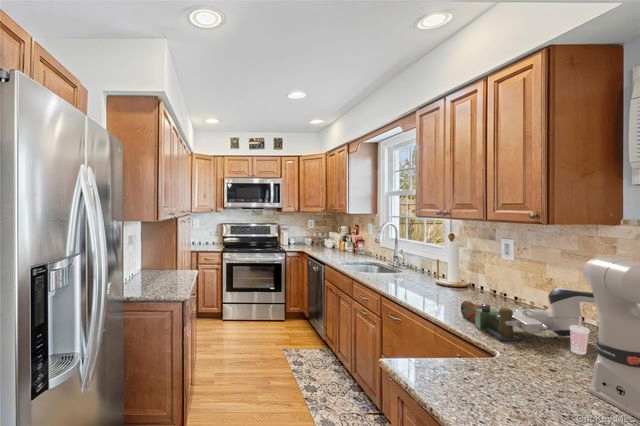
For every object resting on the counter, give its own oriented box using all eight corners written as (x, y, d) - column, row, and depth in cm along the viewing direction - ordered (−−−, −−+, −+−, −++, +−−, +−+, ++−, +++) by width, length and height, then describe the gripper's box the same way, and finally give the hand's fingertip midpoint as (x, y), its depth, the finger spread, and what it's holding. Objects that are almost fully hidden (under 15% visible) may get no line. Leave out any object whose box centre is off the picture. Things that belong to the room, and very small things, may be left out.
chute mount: (521, 341, 140) (521, 316, 139) (495, 341, 139) (496, 316, 139) (498, 326, 157) (498, 303, 157) (475, 326, 157) (475, 303, 157)
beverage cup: (579, 356, 126) (580, 319, 125) (564, 348, 132) (565, 313, 131) (593, 354, 128) (595, 317, 126) (577, 346, 134) (579, 311, 132)
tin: (460, 315, 172) (460, 298, 172) (465, 315, 173) (465, 298, 173) (481, 326, 158) (481, 307, 158) (487, 325, 159) (487, 307, 158)
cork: (516, 337, 142) (516, 310, 142) (501, 337, 142) (501, 310, 142) (509, 332, 148) (510, 306, 148) (494, 331, 148) (495, 306, 148)
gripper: (550, 337, 135) (516, 337, 135) (519, 319, 156) (489, 319, 156) (551, 321, 135) (516, 321, 135) (519, 305, 156) (489, 305, 155)
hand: (501, 320), depth 146 cm, fingers open, 4 cm apart
